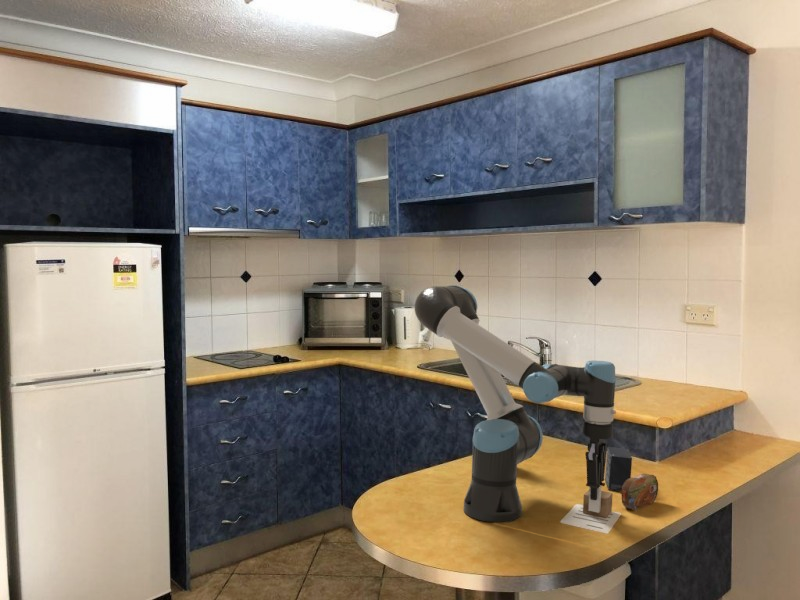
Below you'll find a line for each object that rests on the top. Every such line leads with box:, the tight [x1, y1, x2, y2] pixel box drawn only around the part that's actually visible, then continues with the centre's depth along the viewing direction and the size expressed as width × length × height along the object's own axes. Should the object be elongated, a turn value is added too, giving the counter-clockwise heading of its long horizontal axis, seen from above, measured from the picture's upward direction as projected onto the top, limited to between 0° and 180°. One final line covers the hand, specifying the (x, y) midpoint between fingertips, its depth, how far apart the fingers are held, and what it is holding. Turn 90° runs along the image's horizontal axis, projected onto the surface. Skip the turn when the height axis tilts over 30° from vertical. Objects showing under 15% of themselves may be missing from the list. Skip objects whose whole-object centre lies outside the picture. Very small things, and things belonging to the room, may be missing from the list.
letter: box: [559, 503, 622, 535], centre depth 172 cm, size 12×16×1 cm
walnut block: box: [582, 489, 614, 518], centre depth 176 cm, size 6×6×5 cm
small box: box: [604, 446, 633, 492], centre depth 198 cm, size 11×6×10 cm, turn 168°
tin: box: [621, 473, 659, 511], centre depth 182 cm, size 15×3×8 cm, turn 129°
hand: (594, 510), depth 172 cm, fingers closed
